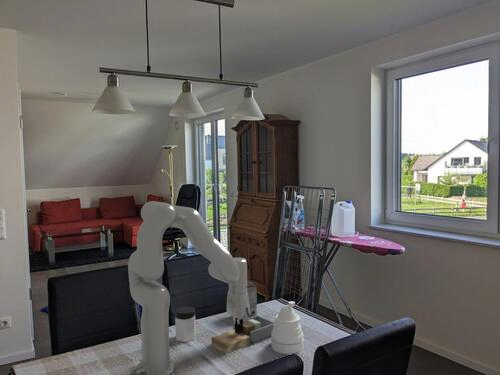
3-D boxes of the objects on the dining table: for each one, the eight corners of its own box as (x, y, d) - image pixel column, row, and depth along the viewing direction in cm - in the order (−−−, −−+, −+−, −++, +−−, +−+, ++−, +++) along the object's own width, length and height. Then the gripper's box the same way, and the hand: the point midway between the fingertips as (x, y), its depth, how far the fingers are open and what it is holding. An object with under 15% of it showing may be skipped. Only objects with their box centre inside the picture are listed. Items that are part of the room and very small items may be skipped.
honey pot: (305, 340, 162) (305, 297, 161) (301, 355, 150) (300, 309, 149) (275, 337, 166) (274, 295, 164) (268, 352, 153) (267, 306, 152)
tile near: (245, 334, 162) (246, 327, 162) (237, 330, 166) (238, 323, 166) (254, 332, 165) (255, 325, 165) (246, 329, 169) (247, 322, 169)
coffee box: (237, 314, 192) (236, 281, 191) (249, 311, 195) (248, 279, 194) (245, 320, 184) (244, 286, 183) (257, 318, 187) (256, 284, 186)
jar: (180, 344, 161) (179, 315, 161) (172, 337, 168) (171, 309, 167) (199, 338, 166) (199, 310, 165) (191, 331, 173) (190, 304, 172)
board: (226, 353, 152) (226, 346, 152) (211, 344, 160) (211, 337, 160) (250, 343, 160) (250, 336, 160) (234, 336, 168) (234, 329, 168)
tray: (251, 344, 159) (251, 332, 159) (233, 335, 169) (233, 323, 168) (276, 334, 169) (276, 322, 168) (257, 325, 178) (257, 315, 177)
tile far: (255, 323, 165) (260, 322, 167) (247, 320, 169) (252, 319, 171) (254, 335, 165) (259, 334, 167) (246, 331, 169) (251, 330, 171)
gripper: (219, 286, 165) (220, 329, 166) (242, 295, 153) (243, 341, 155) (233, 282, 170) (234, 324, 171) (257, 290, 158) (258, 335, 159)
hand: (239, 332), depth 163 cm, fingers closed
